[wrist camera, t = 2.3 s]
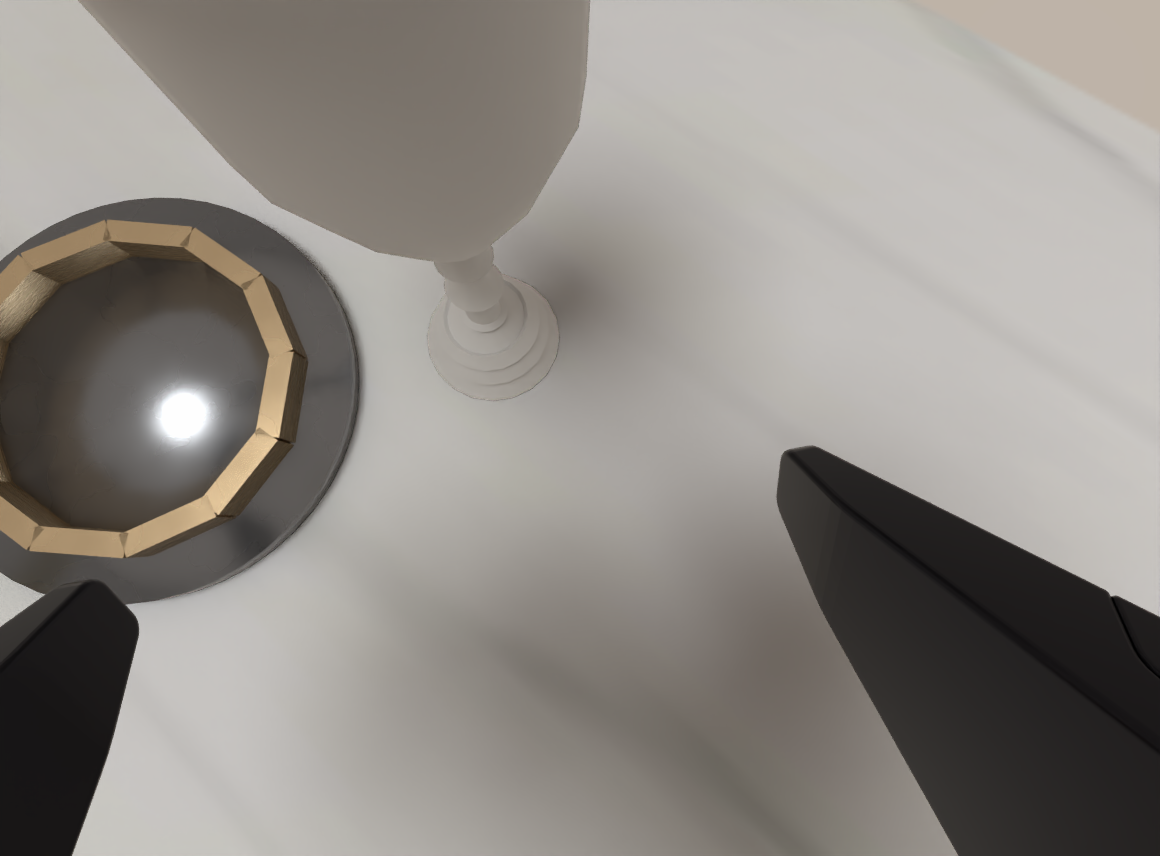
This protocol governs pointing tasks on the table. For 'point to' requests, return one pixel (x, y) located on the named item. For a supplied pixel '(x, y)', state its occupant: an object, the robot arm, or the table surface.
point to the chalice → (390, 136)
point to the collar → (164, 397)
